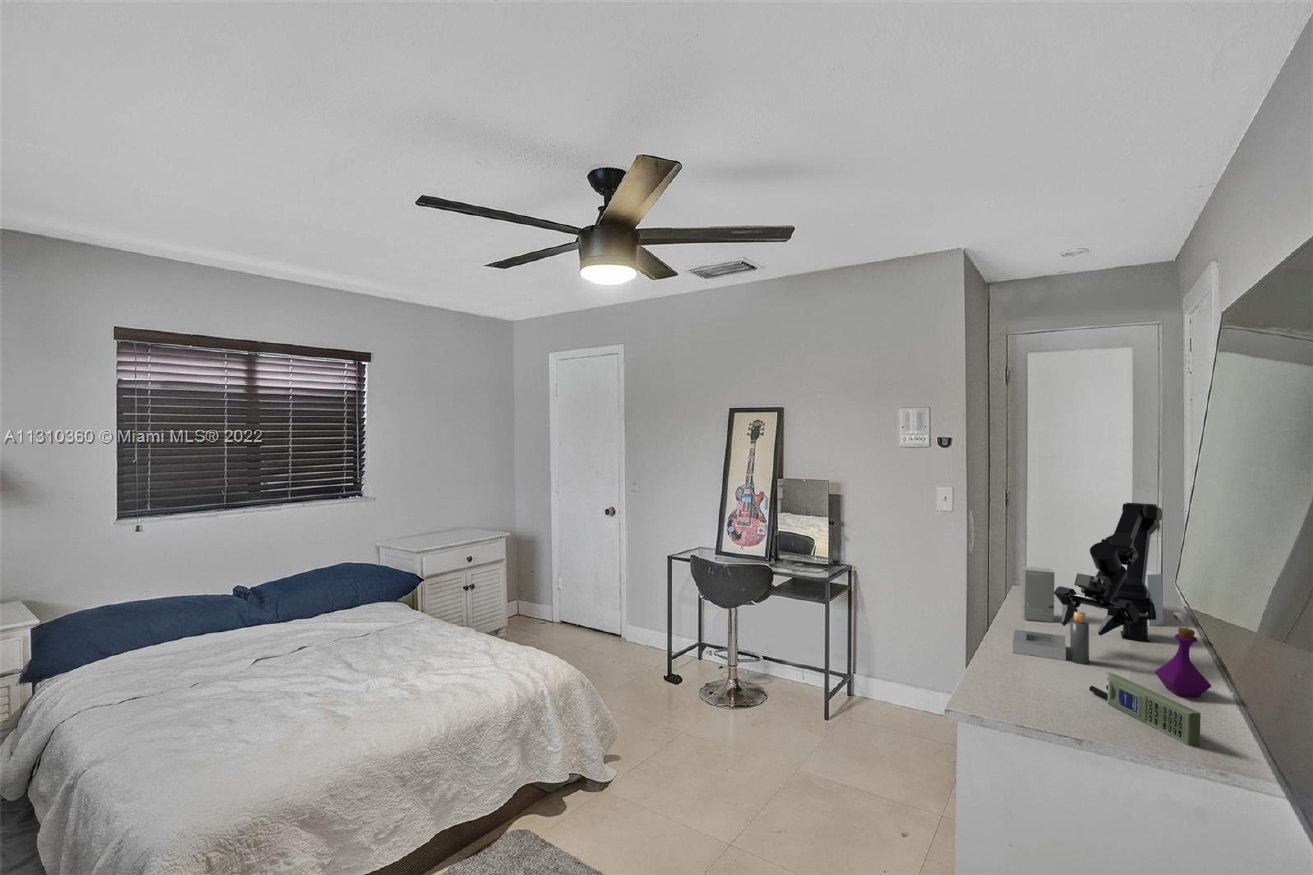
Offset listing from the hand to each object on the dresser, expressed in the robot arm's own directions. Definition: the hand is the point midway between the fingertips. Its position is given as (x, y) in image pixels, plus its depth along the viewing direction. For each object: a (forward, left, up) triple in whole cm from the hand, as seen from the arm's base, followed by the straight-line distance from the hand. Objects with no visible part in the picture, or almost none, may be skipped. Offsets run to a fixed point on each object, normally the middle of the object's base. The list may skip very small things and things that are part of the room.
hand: (1080, 629), depth 165 cm
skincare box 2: (-55, +14, -8) cm, 57 cm away
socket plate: (-5, -9, -8) cm, 13 cm away
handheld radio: (+32, +9, -9) cm, 34 cm away
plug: (0, 0, -8) cm, 8 cm away
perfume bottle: (+12, +19, -8) cm, 24 cm away
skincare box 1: (-38, -10, -8) cm, 40 cm away
